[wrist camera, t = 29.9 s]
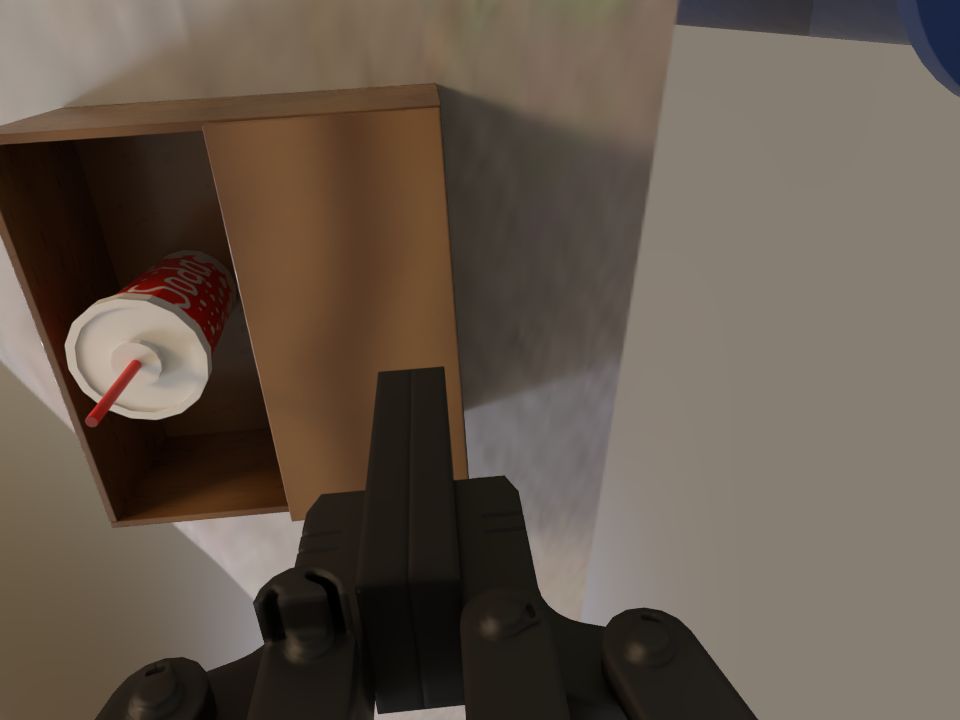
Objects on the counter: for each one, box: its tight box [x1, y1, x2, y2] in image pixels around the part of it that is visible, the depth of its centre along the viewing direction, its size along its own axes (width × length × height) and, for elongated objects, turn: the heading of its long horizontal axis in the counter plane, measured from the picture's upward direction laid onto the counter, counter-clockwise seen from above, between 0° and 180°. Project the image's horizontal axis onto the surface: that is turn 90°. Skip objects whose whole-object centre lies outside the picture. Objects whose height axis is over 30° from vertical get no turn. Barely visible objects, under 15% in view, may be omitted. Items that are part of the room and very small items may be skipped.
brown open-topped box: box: [0, 83, 469, 528], centre depth 36 cm, size 19×20×8 cm
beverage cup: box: [65, 250, 236, 427], centre depth 33 cm, size 6×6×14 cm
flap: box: [202, 108, 468, 521], centre depth 32 cm, size 9×20×1 cm, turn 3°
